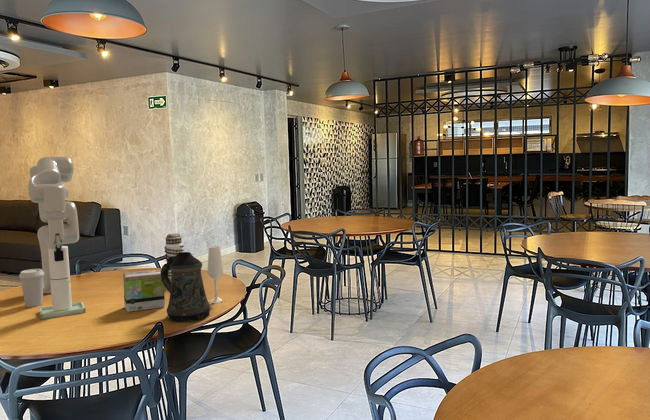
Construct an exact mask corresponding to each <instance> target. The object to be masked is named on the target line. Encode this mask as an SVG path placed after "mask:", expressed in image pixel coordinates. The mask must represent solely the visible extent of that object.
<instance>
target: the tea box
mask: <svg viewBox="0 0 650 420" xmlns="http://www.w3.org/2000/svg"><path fill="white" fill-rule="evenodd" d="M122 277H123V278H122V281H123V301H124V302H123V303H124V305H123V306H124V308H125V311H126V313H130V312H135V311H136V312H137V311H143V310H144V311H145V310H152V309H161V307H164V308H165V303H166V301H165V298H166V297H165V286H164V284H163V282H162V279H161V269H151V270H140V271H132V272H131V271H130V272H123V275H122Z"/></svg>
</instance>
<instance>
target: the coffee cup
mask: <svg viewBox="0 0 650 420" xmlns="http://www.w3.org/2000/svg"><path fill="white" fill-rule="evenodd" d="M43 275H44V272H43V270H42V268H31V269H25V270H22V271H20V273H19V275H18V278H20V285H21V289H22V295H23V301H24V305H25V308H36V307H39V306H42V305H43V302H44V293H43V288H44V283H43Z"/></svg>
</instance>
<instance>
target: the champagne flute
mask: <svg viewBox="0 0 650 420" xmlns="http://www.w3.org/2000/svg"><path fill="white" fill-rule="evenodd" d="M207 257H208V258H207V271H206V273H207V275H208V276H209V277H210V278H211V279H212V280H213V281H214V297H213V298H211V299H210V301H211V302H220V301H222V299H223V298H220V297H219V294H218V279H220V278H221V277H222V276H223V274H224V265H223V259H222V251H221V246H220V245H210V246H208V256H207Z"/></svg>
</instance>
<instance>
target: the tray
mask: <svg viewBox="0 0 650 420" xmlns="http://www.w3.org/2000/svg"><path fill="white" fill-rule="evenodd" d="M84 313H86V306H85V304H84V301H83V300H82V301H75V302H72V307H71V308H69V309H66V310H53V309H52V305H47V306H41V307H39V315H40V316H39V317H40V318H39V319H40V320H44V319H46V320H47V319H51V318H52V319H53V318H59V317H64V316H71V315H77V314H84Z"/></svg>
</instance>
